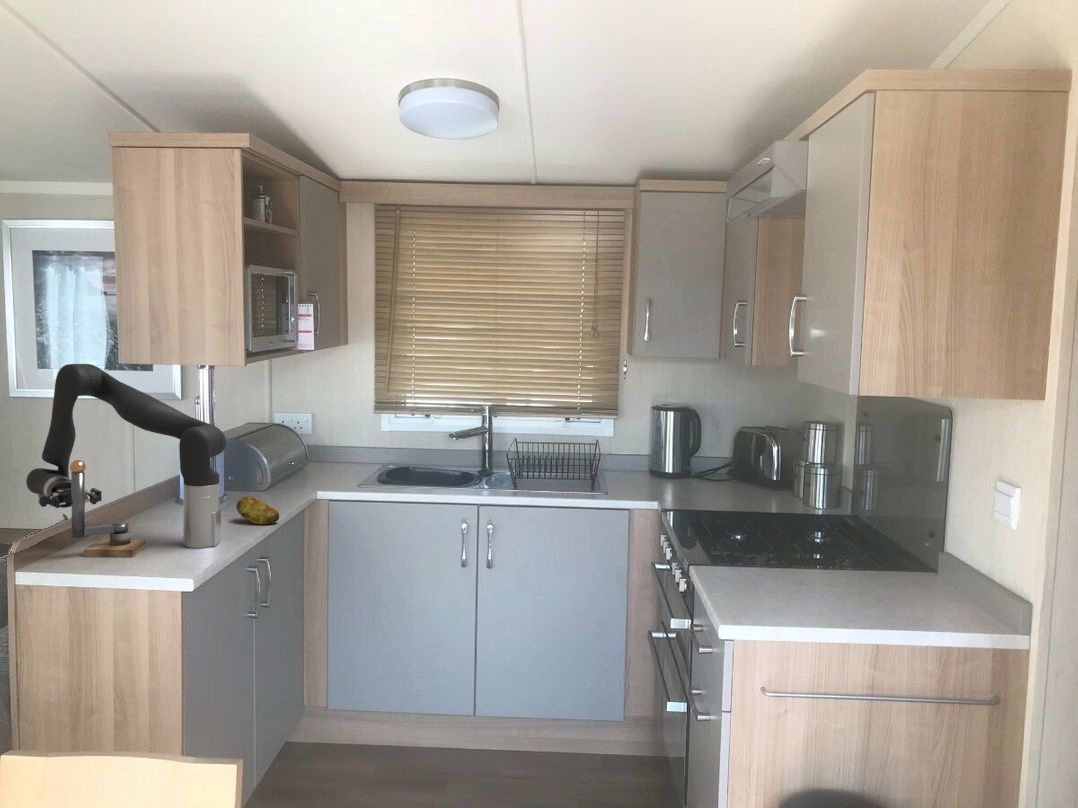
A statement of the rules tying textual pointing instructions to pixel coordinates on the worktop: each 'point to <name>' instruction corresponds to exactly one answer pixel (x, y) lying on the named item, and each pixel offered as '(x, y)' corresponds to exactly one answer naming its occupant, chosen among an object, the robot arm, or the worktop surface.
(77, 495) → the lever
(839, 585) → the worktop surface
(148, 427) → the robot arm
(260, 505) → the potato
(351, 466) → the worktop surface
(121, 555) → the cracker base
